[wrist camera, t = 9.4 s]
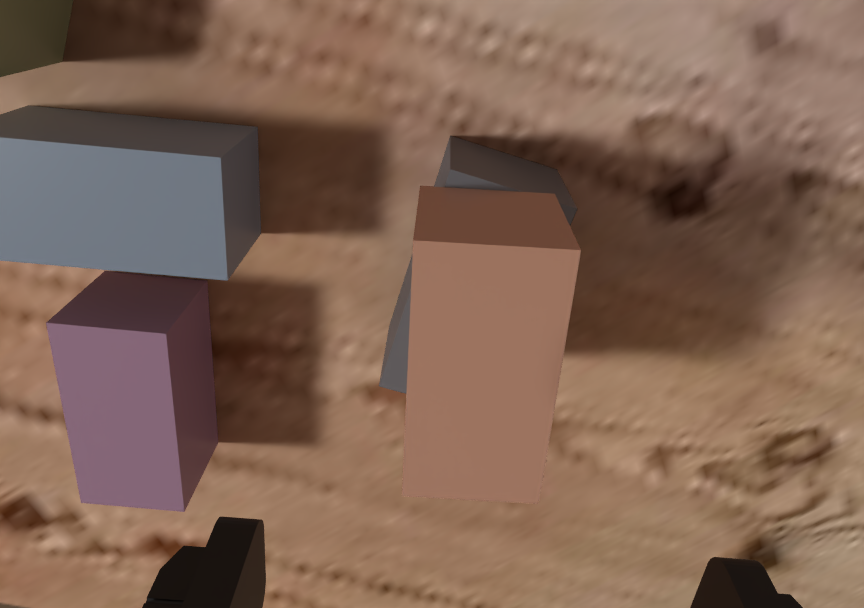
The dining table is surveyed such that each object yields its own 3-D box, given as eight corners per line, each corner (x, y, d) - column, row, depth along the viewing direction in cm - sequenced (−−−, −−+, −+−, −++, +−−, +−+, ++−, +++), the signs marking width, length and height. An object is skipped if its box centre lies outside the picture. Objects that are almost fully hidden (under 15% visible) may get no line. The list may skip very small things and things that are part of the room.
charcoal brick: (450, 135, 23) (450, 169, 20) (556, 168, 24) (577, 208, 20) (389, 325, 27) (378, 386, 23) (483, 351, 27) (488, 415, 24)
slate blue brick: (50, 212, 25) (-24, 258, 21) (30, 104, 23) (-54, 132, 20) (262, 232, 25) (227, 280, 21) (258, 125, 24) (220, 157, 20)
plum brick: (106, 269, 26) (45, 322, 22) (208, 278, 26) (166, 333, 22) (130, 432, 30) (81, 502, 26) (219, 439, 30) (184, 511, 26)
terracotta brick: (420, 185, 20) (413, 240, 16) (554, 193, 20) (580, 250, 16) (409, 407, 23) (401, 496, 20) (523, 413, 23) (538, 503, 20)
